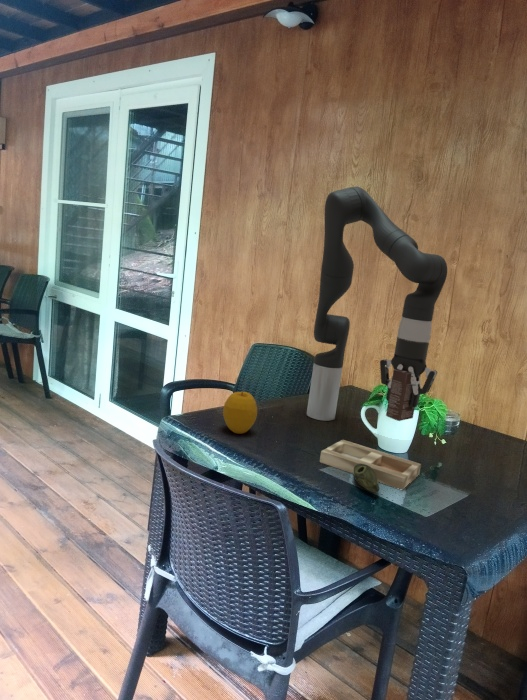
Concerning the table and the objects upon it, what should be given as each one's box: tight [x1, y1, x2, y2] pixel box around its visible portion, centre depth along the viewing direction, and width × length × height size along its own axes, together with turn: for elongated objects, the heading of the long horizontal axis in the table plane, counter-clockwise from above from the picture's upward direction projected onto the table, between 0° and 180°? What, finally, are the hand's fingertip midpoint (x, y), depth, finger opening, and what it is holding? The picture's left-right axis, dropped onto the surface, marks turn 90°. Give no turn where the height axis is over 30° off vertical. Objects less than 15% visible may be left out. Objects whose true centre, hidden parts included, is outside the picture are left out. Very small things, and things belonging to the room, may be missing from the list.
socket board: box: [319, 439, 422, 490], centre depth 145 cm, size 13×22×3 cm, turn 58°
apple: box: [222, 391, 258, 435], centre depth 160 cm, size 10×10×12 cm
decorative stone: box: [353, 463, 380, 493], centre depth 134 cm, size 11×8×5 cm
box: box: [385, 368, 418, 422], centre depth 139 cm, size 6×4×12 cm
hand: (401, 405), depth 140 cm, fingers closed on box, 5 cm apart
